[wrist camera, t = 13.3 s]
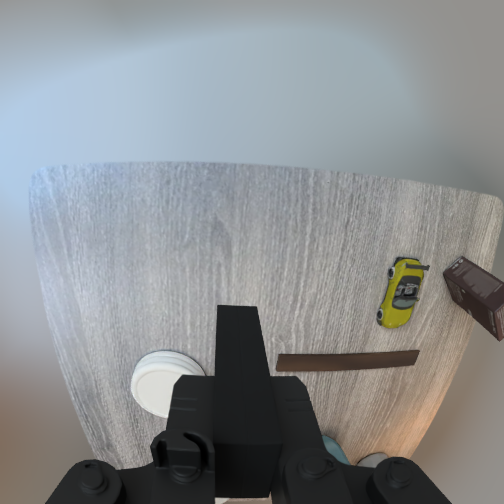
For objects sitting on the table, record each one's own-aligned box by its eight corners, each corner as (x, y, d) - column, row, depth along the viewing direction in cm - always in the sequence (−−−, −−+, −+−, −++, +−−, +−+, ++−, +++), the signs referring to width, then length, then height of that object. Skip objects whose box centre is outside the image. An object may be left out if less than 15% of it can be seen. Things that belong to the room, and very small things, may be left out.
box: (440, 274, 39) (494, 312, 27) (461, 254, 38) (518, 287, 27) (451, 303, 41) (500, 343, 29) (471, 284, 40) (522, 320, 29)
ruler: (278, 353, 40) (279, 356, 40) (418, 349, 43) (419, 351, 42) (275, 369, 41) (276, 371, 40) (412, 363, 43) (414, 365, 43)
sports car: (371, 325, 40) (380, 337, 37) (391, 254, 37) (403, 262, 34) (402, 325, 41) (412, 336, 38) (422, 257, 38) (435, 265, 35)
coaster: (201, 408, 42) (200, 426, 39) (134, 395, 41) (129, 411, 38) (212, 357, 40) (212, 374, 36) (136, 341, 38) (130, 357, 35)
